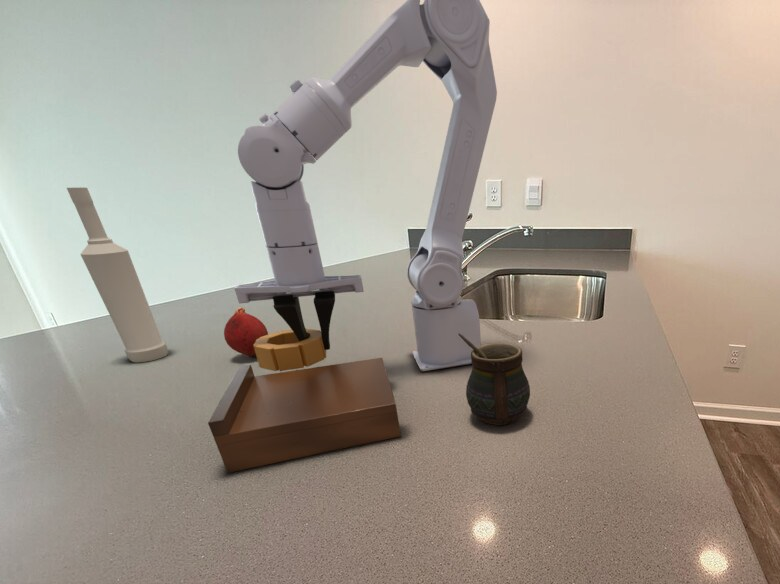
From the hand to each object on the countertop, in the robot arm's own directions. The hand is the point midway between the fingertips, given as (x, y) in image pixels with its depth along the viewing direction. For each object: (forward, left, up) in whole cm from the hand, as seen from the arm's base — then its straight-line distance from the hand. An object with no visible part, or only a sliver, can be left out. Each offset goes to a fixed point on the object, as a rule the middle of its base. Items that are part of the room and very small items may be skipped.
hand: (317, 348), depth 56 cm
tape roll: (+3, 0, -1) cm, 3 cm away
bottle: (+27, -21, -5) cm, 35 cm away
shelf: (0, +13, -4) cm, 14 cm away
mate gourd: (-19, +20, -5) cm, 28 cm away
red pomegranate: (+11, -14, -5) cm, 18 cm away
